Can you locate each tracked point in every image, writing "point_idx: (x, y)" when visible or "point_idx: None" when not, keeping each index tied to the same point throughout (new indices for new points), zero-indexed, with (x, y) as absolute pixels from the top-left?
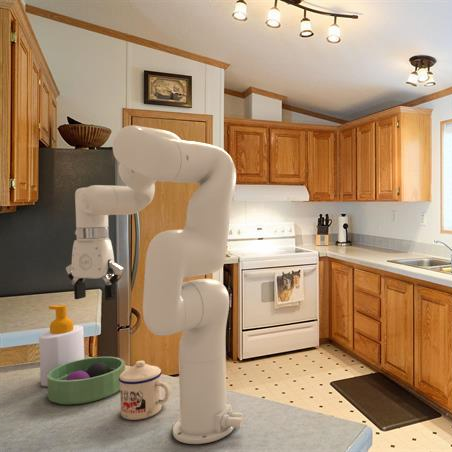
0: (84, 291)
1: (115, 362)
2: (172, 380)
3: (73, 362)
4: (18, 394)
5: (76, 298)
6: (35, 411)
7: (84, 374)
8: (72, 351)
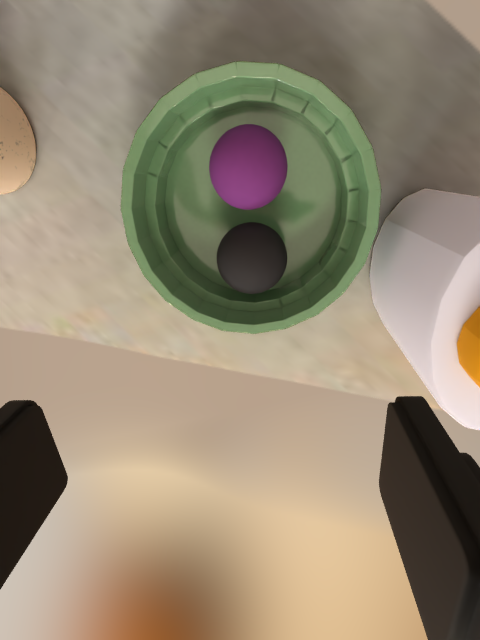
0: (398, 533)
1: (230, 316)
2: (88, 331)
3: (355, 255)
4: (469, 109)
5: (401, 403)
6: (286, 16)
7: (218, 175)
8: (399, 294)
